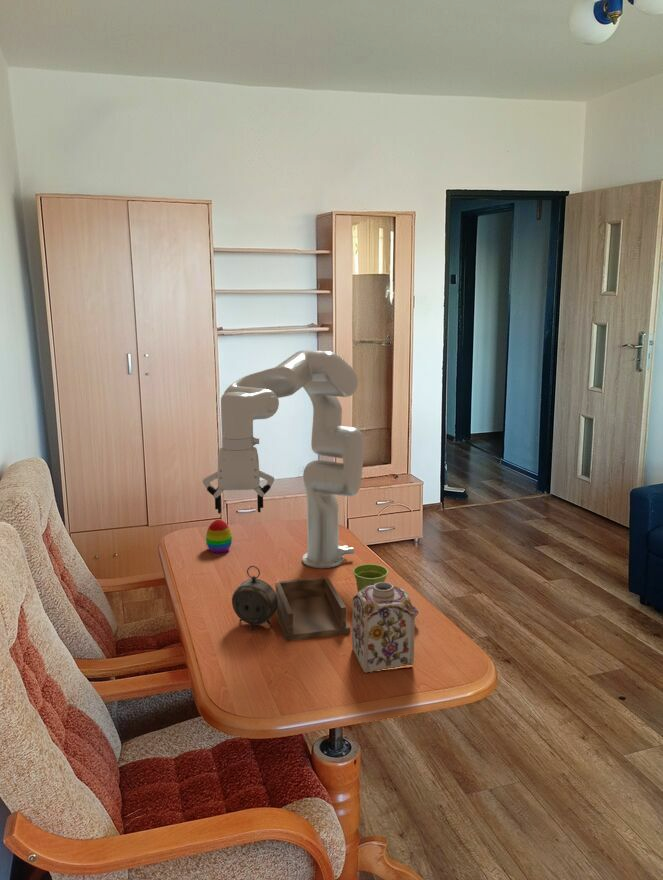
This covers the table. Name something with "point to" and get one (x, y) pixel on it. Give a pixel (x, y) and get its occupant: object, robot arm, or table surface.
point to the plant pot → (369, 575)
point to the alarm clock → (254, 601)
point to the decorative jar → (383, 627)
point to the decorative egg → (218, 536)
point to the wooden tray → (310, 609)
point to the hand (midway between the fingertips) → (239, 511)
